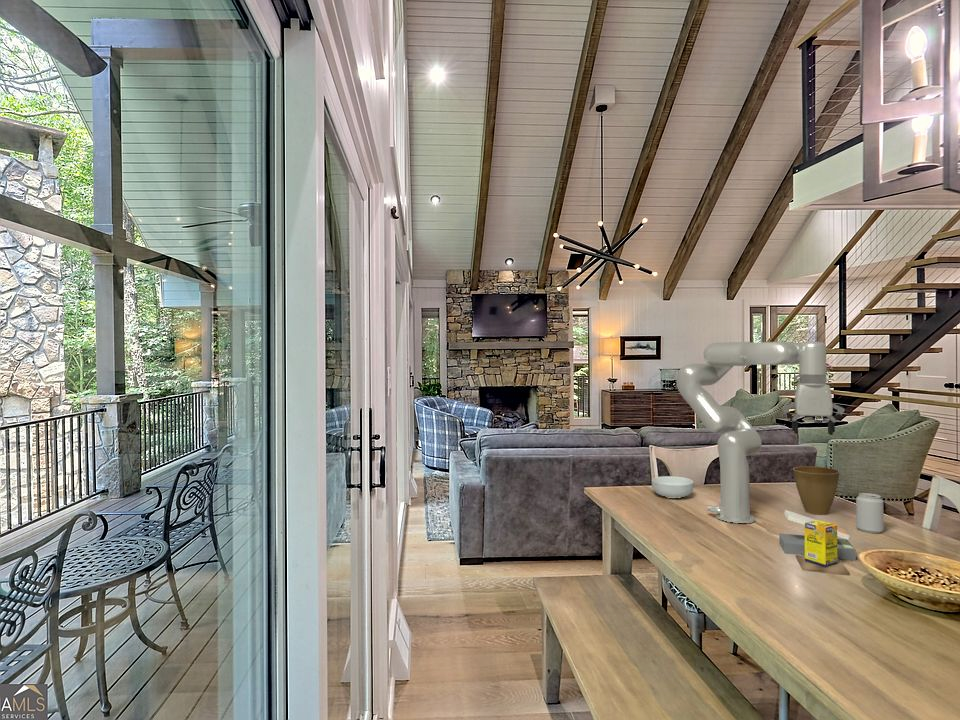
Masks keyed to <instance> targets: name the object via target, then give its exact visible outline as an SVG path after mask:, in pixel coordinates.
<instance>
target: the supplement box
mask: <svg viewBox="0 0 960 720" xmlns="http://www.w3.org/2000/svg"><path fill="white" fill-rule="evenodd" d="M814 520H815V521H811V522H805V525H804V535H805V555H804V556H805V561H807V562H810V563H813V564H816V565H820V566H823V567H827V566H830V565H833V564H837V559H838V558H837V538H838V536H837V527H838V524H836V523H832V522H828V521H824V520H820V519H814Z"/></svg>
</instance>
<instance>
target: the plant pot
mask: <svg viewBox="0 0 960 720" xmlns="http://www.w3.org/2000/svg"><path fill="white" fill-rule="evenodd" d="M792 471H793V476H794V481H795V485H796V488H797V492H798V497H800V501H801V504H802V506H803V508H804V511H805V512H806V513H808V514H812V515H819V516H822V515H823V516H826V515H829V513H830V511H831V509H832V506H833V503H834V500H835V497H836V493H837V489H838V483H839V479H840V478H839V477H840V471H839V470H838V469H836V468H831V467H825V466H824V467H823V466H814V465H813V466H809V465H808V466H807V465H806V466H805V465H804V466H796V467H795V466H794V467H793V468H792Z"/></svg>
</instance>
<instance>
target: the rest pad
mask: <svg viewBox="0 0 960 720" xmlns="http://www.w3.org/2000/svg"><path fill="white" fill-rule="evenodd" d="M795 559H796V560H797V562H798V564H799V566H800V568H801V570H802V571H805V572H807V571H808V572H817V573H825V574H835V575H836V574H837V575H843V576H850V575H851V572H850V571H849V570H848V568H847V566H845V564H844V563H843V561H842V559H838V558H837V564H833V565H830V566H827V567H823V566H820V565H816V564H813V563H810V562H807V561H805V555H798V554H795Z"/></svg>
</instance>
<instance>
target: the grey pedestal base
mask: <svg viewBox="0 0 960 720" xmlns="http://www.w3.org/2000/svg"><path fill="white" fill-rule="evenodd" d="M778 535H779V545H780V547H781V548H782V551H783V553H784V554H789V555H802V556H805V534H804V535H803V534H793V533H783V532H782V533H781V532H780V533H779V534H778ZM837 559H840V560H846V561H847V560H850V561H856V560H857V551H856V548H855V547H854V546H853V545H852V544H851V542H850V541H849V539H848V540H847V539H844V538H838V537H837Z"/></svg>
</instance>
